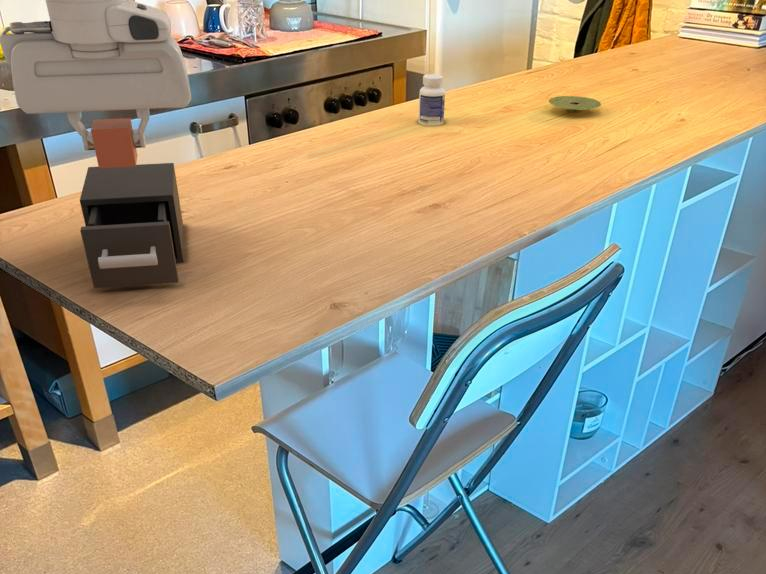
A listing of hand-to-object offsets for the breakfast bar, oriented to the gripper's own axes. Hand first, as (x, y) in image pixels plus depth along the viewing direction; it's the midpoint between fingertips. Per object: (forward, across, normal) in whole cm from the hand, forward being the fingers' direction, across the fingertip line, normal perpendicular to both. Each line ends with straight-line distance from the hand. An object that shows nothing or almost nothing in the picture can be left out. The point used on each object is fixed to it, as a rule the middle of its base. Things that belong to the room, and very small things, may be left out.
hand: (116, 147), depth 101 cm
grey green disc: (+17, +90, +69) cm, 115 cm away
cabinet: (+17, 0, +9) cm, 19 cm away
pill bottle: (+17, +57, +65) cm, 88 cm away
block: (+2, 0, 0) cm, 2 cm away
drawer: (+16, 0, -1) cm, 16 cm away
